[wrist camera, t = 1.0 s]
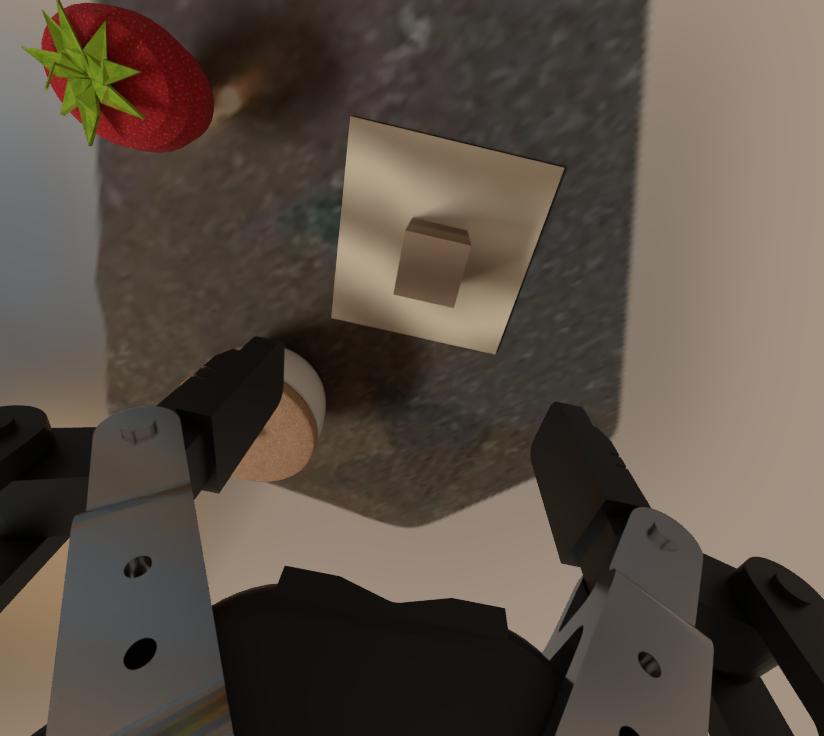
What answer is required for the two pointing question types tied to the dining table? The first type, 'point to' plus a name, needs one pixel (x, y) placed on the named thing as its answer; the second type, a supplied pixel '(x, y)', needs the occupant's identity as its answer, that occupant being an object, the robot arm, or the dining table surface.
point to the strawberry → (124, 77)
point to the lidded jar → (287, 426)
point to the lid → (436, 234)
